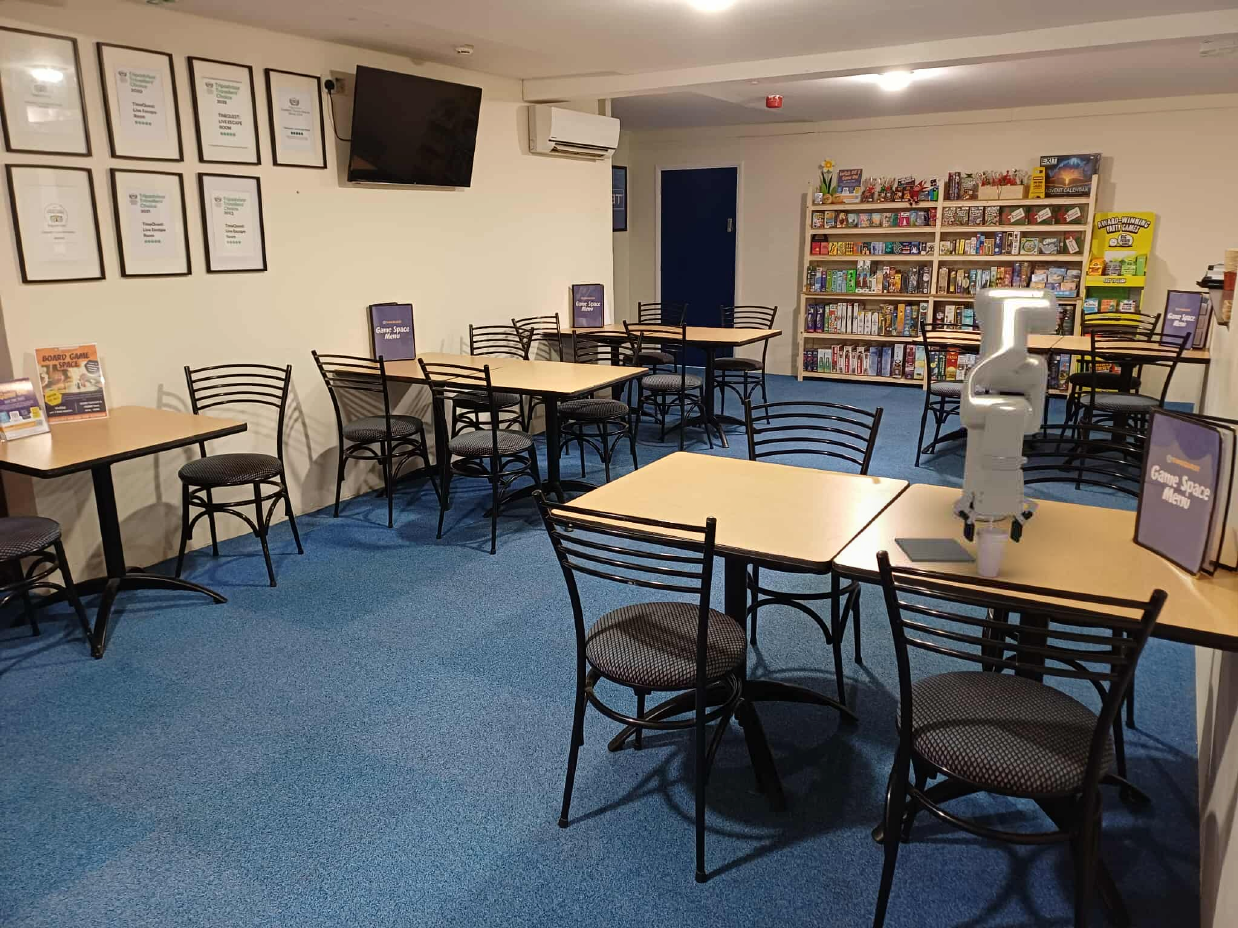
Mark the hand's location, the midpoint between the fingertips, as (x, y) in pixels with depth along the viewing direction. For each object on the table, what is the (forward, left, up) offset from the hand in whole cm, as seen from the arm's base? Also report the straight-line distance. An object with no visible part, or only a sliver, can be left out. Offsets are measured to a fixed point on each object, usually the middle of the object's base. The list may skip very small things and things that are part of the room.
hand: (991, 540), depth 184 cm
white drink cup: (0, 0, -8) cm, 8 cm away
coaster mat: (+7, -14, -8) cm, 18 cm away
